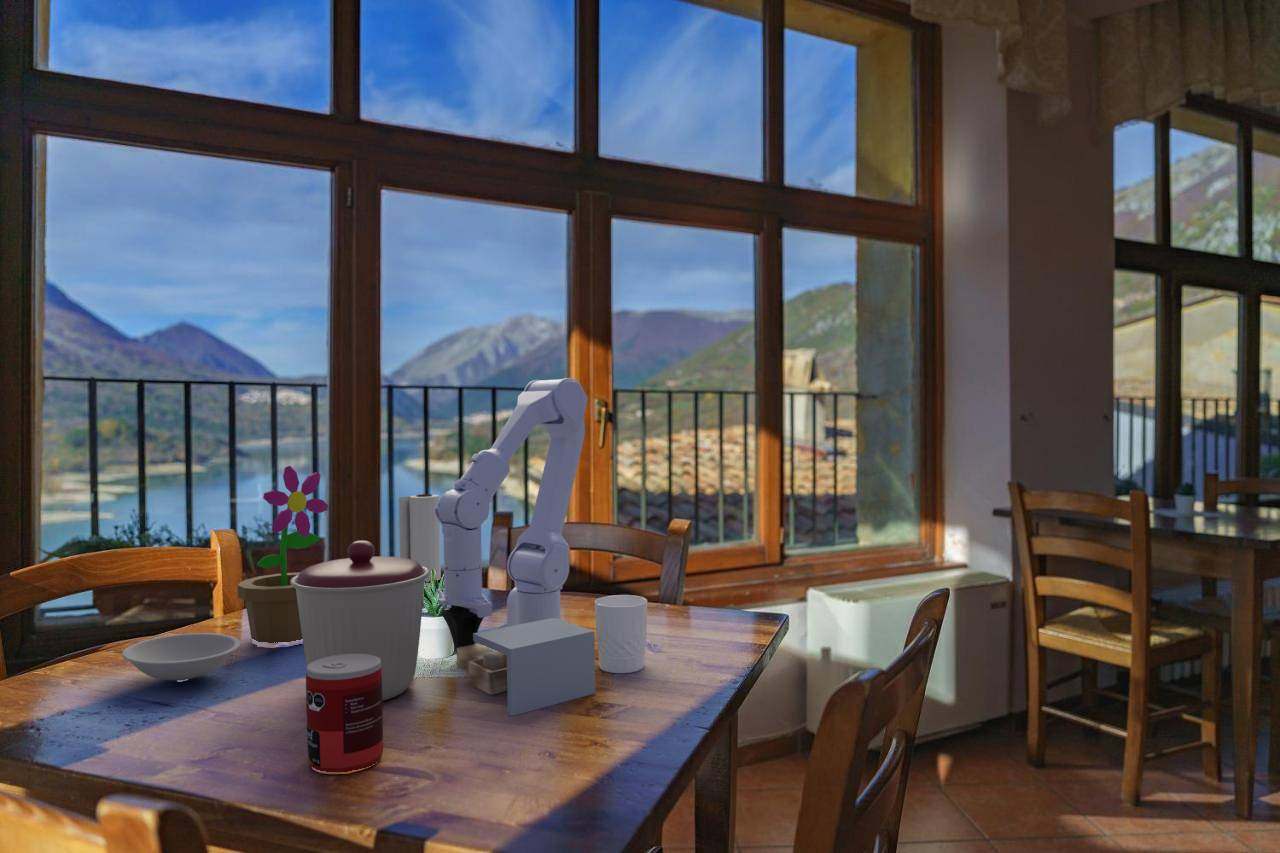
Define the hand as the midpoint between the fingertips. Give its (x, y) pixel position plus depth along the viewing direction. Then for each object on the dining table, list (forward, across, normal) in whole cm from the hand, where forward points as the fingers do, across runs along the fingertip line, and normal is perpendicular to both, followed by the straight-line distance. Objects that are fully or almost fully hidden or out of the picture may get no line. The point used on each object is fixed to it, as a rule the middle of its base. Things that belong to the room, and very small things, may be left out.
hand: (464, 655), depth 130 cm
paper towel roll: (+1, -47, +14) cm, 49 cm away
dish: (+1, -18, -36) cm, 40 cm away
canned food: (+1, +26, -27) cm, 37 cm away
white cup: (+1, +18, +17) cm, 25 cm away
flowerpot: (+1, -32, -18) cm, 36 cm away
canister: (+1, +4, -18) cm, 18 cm away
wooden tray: (+1, +9, 0) cm, 9 cm away
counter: (+1, +20, 0) cm, 20 cm away
